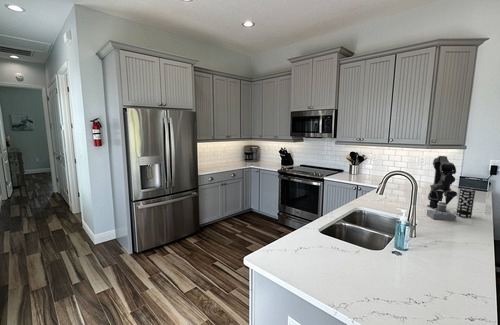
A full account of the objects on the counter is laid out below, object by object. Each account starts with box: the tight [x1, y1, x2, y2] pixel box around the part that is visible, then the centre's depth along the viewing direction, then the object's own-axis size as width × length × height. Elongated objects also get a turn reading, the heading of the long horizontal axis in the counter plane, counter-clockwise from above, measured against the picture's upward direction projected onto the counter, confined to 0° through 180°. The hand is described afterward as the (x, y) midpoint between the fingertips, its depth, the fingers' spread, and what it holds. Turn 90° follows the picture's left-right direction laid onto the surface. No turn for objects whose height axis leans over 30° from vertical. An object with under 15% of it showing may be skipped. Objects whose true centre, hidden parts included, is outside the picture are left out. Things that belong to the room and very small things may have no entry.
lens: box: [437, 201, 448, 212], centre depth 171 cm, size 5×5×7 cm
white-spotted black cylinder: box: [455, 188, 476, 219], centre depth 175 cm, size 8×8×20 cm
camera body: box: [426, 208, 457, 222], centre depth 172 cm, size 9×14×6 cm, turn 78°
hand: (442, 202), depth 170 cm, fingers open, 9 cm apart
